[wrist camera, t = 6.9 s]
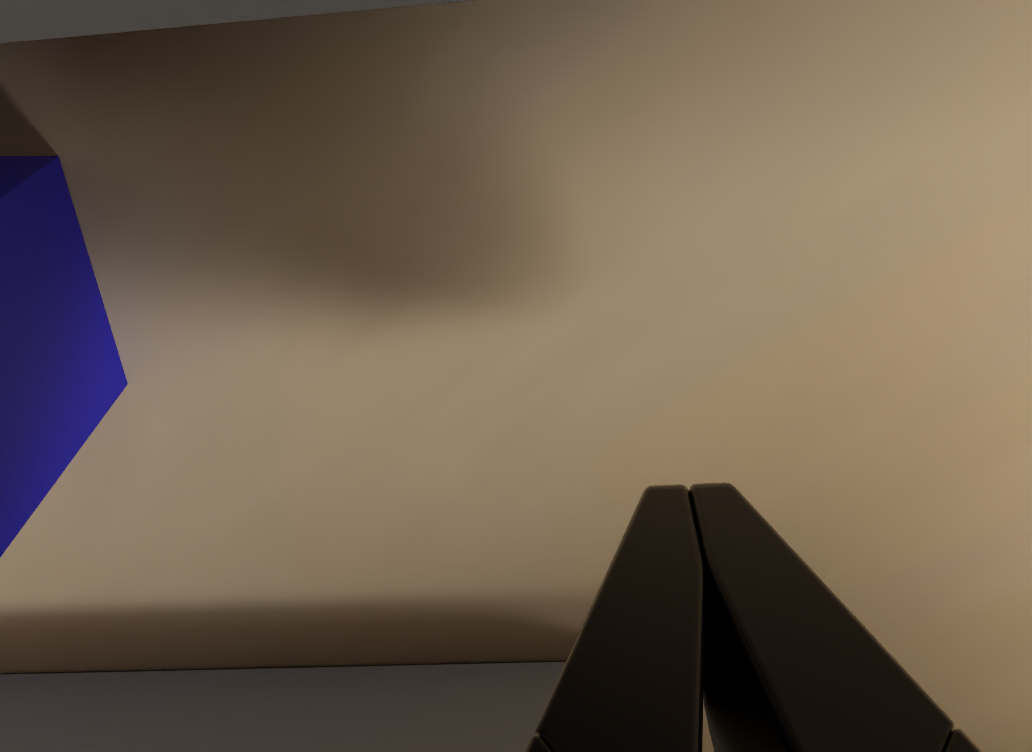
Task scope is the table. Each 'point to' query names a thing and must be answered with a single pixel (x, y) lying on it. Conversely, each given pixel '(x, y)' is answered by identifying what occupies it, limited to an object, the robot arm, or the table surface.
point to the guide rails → (275, 691)
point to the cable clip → (46, 338)
